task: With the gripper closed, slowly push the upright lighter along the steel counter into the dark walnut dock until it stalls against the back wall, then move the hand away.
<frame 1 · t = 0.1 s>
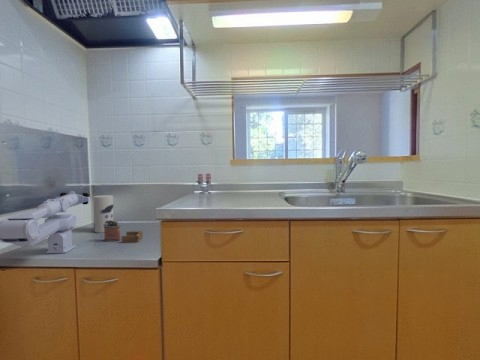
hand: (80, 196, 133), 22 cm above the table, tool horizontal, fingers open, 7 cm apart
container: (104, 231, 149), on the table
lighter dock: (129, 239, 131), on the table
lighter: (112, 240, 130), on the table
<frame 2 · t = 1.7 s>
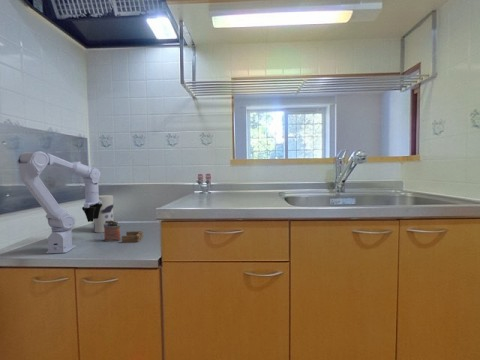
hand: (93, 220, 128), 10 cm above the table, tool pointing down, fingers open, 6 cm apart
nothing on the table moved.
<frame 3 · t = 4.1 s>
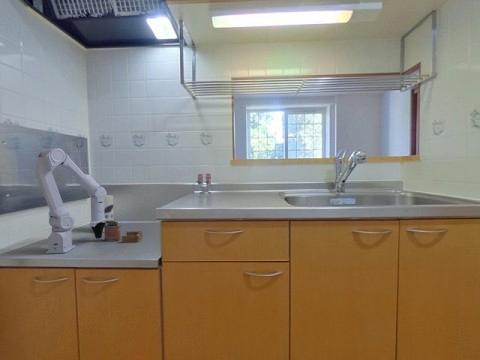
hand: (98, 238, 128), 1 cm above the table, tool pointing down, fingers closed
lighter: (112, 240, 130), on the table, touching gripper
everything else where it was.
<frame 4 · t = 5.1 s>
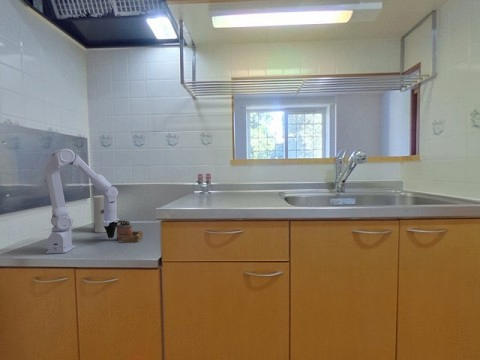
hand: (110, 237, 129), 1 cm above the table, tool pointing down, fingers closed
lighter: (124, 240, 130), on the table, touching gripper
everything else where it was.
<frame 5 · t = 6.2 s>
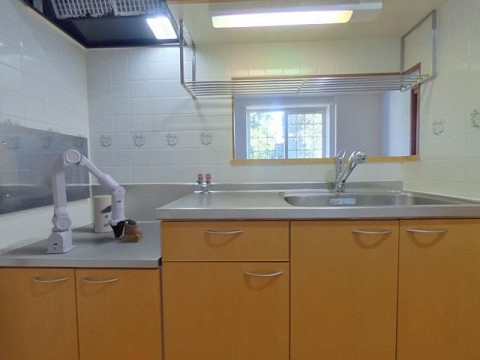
hand: (118, 236, 130), 2 cm above the table, tool pointing down, fingers open, 3 cm apart
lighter: (130, 239, 132), on the table, touching gripper, lighter dock
everything else where it was.
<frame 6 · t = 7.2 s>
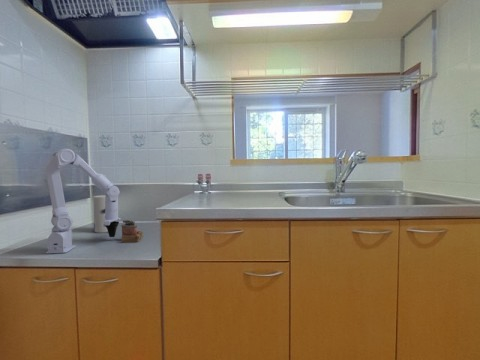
hand: (112, 236, 129), 2 cm above the table, tool pointing down, fingers closed
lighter: (129, 240, 131), on the table
everything else where it was.
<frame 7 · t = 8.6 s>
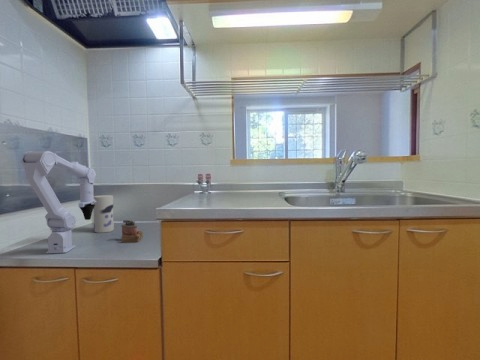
hand: (87, 219, 129), 10 cm above the table, tool pointing down, fingers closed
nothing on the table moved.
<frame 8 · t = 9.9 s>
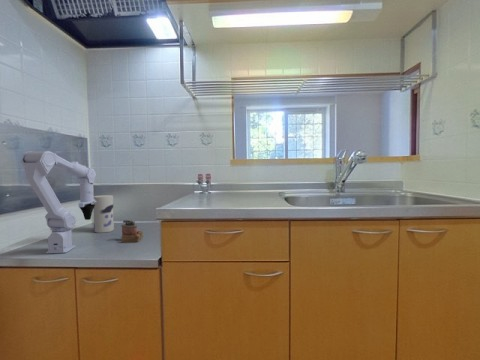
hand: (87, 219, 129), 10 cm above the table, tool pointing down, fingers closed
nothing on the table moved.
at the end: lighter 0.1 cm off-centre on the lighter dock, point 0.0 cm above the lighter dock's base; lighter tilted 0°; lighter moved 8.1 cm from its start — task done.
